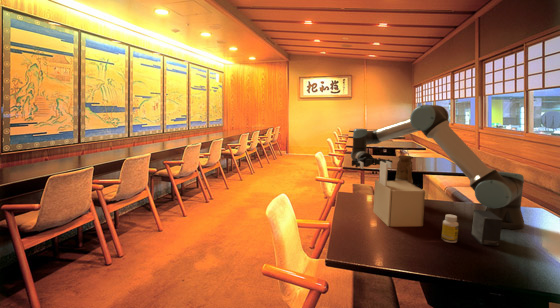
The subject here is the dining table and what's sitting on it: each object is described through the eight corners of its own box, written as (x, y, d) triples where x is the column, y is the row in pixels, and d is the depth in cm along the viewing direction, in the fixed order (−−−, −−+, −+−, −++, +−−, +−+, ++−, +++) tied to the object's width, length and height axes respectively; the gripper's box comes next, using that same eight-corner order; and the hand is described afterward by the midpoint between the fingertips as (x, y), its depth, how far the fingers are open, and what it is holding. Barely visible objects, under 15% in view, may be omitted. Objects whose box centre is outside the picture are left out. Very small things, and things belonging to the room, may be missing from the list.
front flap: (374, 211, 156) (377, 159, 152) (389, 226, 136) (392, 166, 133) (373, 211, 156) (376, 159, 152) (388, 226, 136) (391, 166, 133)
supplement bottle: (456, 244, 119) (458, 219, 118) (440, 241, 122) (442, 216, 121) (457, 239, 124) (459, 215, 123) (442, 236, 127) (443, 212, 126)
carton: (403, 212, 156) (405, 180, 154) (422, 227, 137) (425, 191, 135) (375, 212, 156) (376, 180, 154) (390, 227, 136) (392, 191, 134)
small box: (500, 246, 118) (503, 219, 116) (481, 245, 119) (483, 218, 117) (488, 235, 128) (490, 210, 126) (470, 234, 129) (472, 209, 128)
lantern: (384, 200, 178) (387, 146, 174) (398, 198, 183) (401, 145, 179) (406, 207, 165) (409, 149, 161) (420, 205, 169) (423, 148, 165)
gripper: (386, 165, 172) (403, 173, 151) (340, 166, 171) (350, 173, 150) (387, 152, 171) (403, 157, 150) (341, 152, 170) (350, 158, 149)
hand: (377, 165), depth 150 cm, fingers open, 13 cm apart
